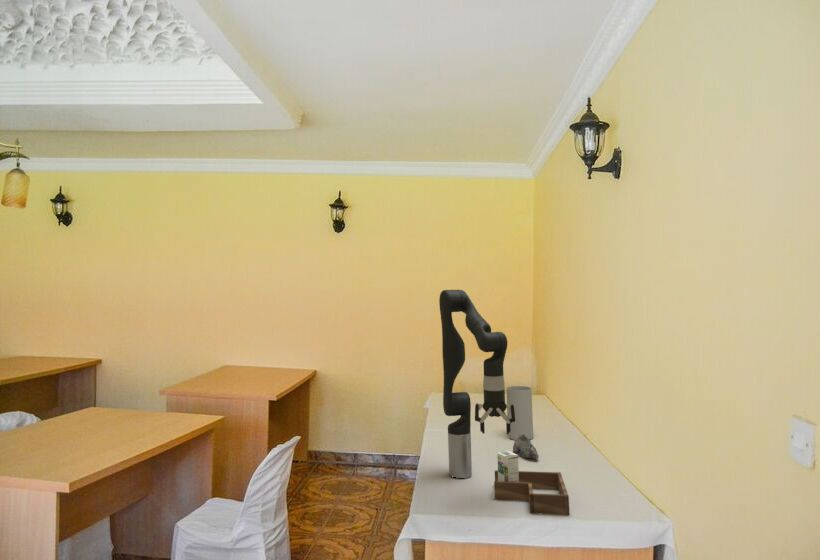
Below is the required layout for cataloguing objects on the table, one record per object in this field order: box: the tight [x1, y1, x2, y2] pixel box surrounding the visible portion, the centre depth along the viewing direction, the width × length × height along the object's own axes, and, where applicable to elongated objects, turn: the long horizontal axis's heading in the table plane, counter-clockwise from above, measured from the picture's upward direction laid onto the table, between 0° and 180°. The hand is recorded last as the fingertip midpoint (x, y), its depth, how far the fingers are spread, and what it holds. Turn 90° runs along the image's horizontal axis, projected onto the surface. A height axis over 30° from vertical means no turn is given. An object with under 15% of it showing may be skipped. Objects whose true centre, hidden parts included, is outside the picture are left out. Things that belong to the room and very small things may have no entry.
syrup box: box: [496, 450, 520, 482], centre depth 182 cm, size 6×6×14 cm
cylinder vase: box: [505, 385, 534, 441], centre depth 253 cm, size 12×12×25 cm
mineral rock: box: [512, 434, 539, 459], centre depth 222 cm, size 13×11×10 cm
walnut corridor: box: [493, 469, 570, 516], centre depth 176 cm, size 22×24×6 cm
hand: (495, 433), depth 178 cm, fingers open, 8 cm apart
